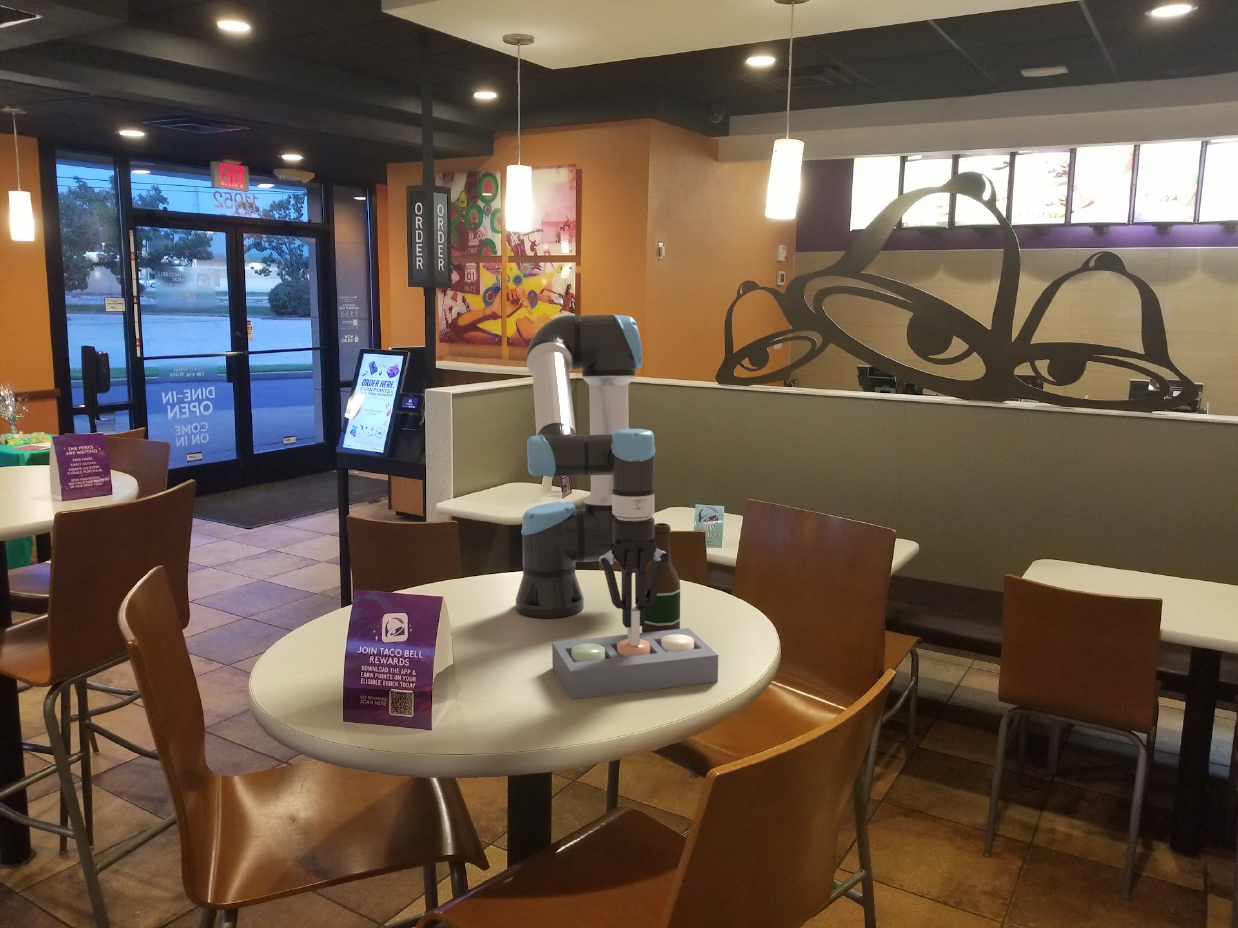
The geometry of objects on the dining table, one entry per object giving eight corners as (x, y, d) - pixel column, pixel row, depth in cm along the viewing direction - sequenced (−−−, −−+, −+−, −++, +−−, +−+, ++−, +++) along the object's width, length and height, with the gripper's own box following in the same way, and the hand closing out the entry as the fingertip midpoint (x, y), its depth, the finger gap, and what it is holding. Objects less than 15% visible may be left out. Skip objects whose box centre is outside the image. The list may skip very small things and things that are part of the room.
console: (552, 667, 176) (552, 642, 175) (688, 652, 183) (688, 627, 182) (571, 699, 162) (570, 671, 161) (717, 681, 169) (718, 654, 168)
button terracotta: (613, 663, 174) (613, 640, 173) (644, 659, 176) (644, 637, 175) (622, 675, 168) (622, 651, 168) (654, 671, 170) (654, 648, 169)
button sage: (568, 668, 172) (568, 645, 171) (600, 664, 173) (600, 641, 173) (576, 680, 166) (576, 656, 165) (609, 676, 168) (608, 653, 167)
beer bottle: (677, 648, 185) (678, 529, 181) (638, 645, 187) (638, 527, 183) (682, 635, 193) (683, 520, 189) (645, 632, 194) (645, 519, 191)
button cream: (656, 658, 176) (656, 636, 176) (687, 655, 178) (687, 632, 177) (667, 670, 171) (667, 646, 170) (698, 666, 172) (698, 643, 172)
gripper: (603, 523, 162) (604, 654, 166) (675, 518, 166) (674, 646, 170) (592, 514, 169) (593, 640, 173) (661, 509, 173) (660, 633, 177)
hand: (633, 643), depth 171 cm, fingers closed
